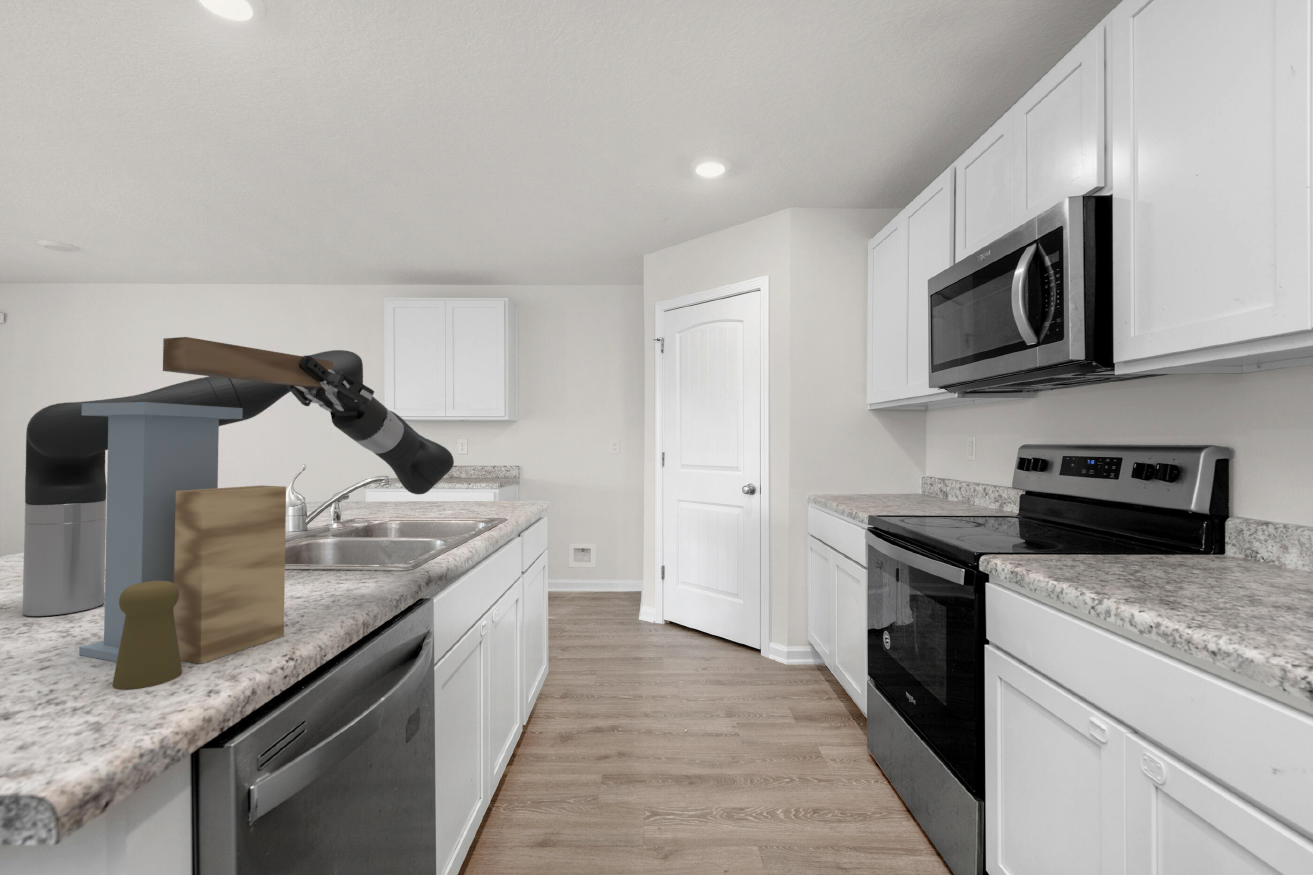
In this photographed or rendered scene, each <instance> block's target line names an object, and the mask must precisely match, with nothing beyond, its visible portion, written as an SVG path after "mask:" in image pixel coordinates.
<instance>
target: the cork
mask: <svg viewBox="0 0 1313 875" xmlns="http://www.w3.org/2000/svg"><path fill="white" fill-rule="evenodd" d="M178 598H179V589H178V587H177V586H176V584H175V583H173V582H170V581H148V582H142V583H138V584H135V585H131V586H129V587H127V588H126V589H125V590H124V591H123V592H122V593H121V595H120V598H119V606H120V609H121V610H122V611H123V612H124V613H125V614H126V616H125V621H124V626H123V632H122V637H121V642H120V648H119V653H118V658H117V662H116V665H115V669H114V674H113V679H112V680H113V681H112V688H113V689H116V690H123V691H125V690H137V689H143V688H144V689H145V688H149V687H154V686H159V685H162V684H165V683H167V682H170V681H173V680H176V679H177V678H178V677H180V676H182V674H183V667H182V660H180V653H179V647H178V640H177V634H176V627H175V621H174V614H173V607H174V606H175V605H176V603H177V601H178Z"/></svg>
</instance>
